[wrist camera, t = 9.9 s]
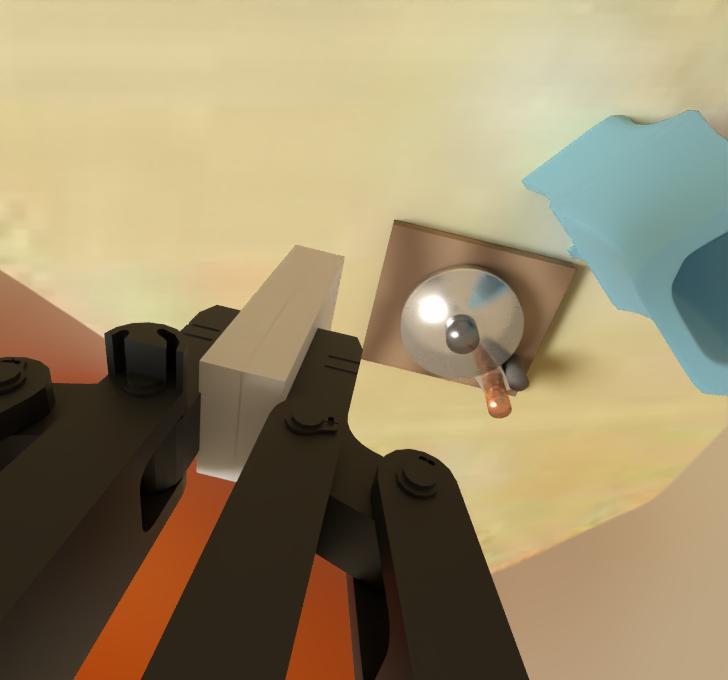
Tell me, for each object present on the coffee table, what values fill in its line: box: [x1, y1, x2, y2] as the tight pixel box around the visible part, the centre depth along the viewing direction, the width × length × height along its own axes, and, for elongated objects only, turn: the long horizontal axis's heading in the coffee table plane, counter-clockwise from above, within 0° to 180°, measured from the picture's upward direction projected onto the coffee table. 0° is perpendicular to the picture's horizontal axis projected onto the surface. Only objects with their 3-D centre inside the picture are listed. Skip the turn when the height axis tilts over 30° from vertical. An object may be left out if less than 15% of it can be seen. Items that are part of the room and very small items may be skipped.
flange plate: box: [401, 265, 524, 418], centre depth 36 cm, size 12×10×6 cm
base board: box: [361, 220, 576, 396], centre depth 38 cm, size 15×13×5 cm
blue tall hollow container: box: [521, 110, 728, 396], centre depth 25 cm, size 8×8×20 cm
